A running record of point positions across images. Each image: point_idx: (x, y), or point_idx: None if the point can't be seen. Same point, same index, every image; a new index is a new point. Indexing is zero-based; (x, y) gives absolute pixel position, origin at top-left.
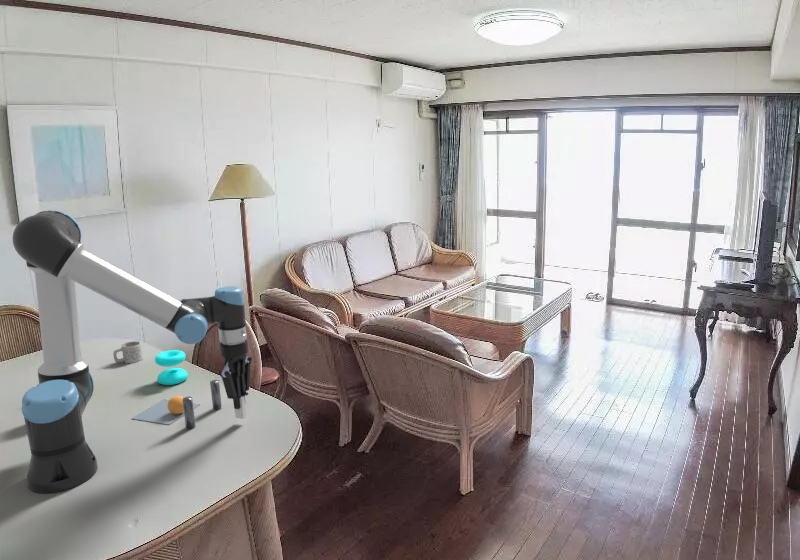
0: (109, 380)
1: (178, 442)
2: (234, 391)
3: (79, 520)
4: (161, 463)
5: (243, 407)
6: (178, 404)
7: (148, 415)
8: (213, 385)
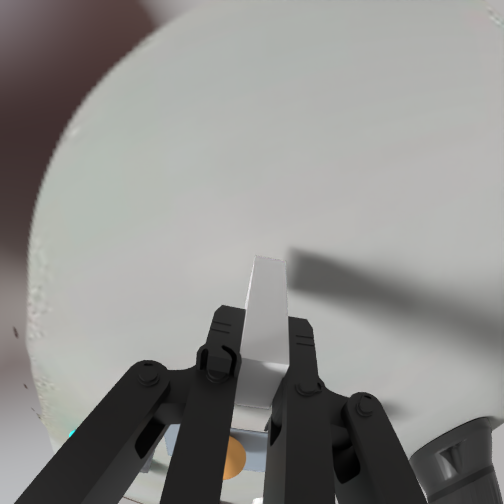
0: (145, 482)
1: (399, 389)
2: (387, 462)
3: None
4: (484, 365)
5: (274, 300)
6: (236, 463)
7: (247, 462)
8: (148, 460)
